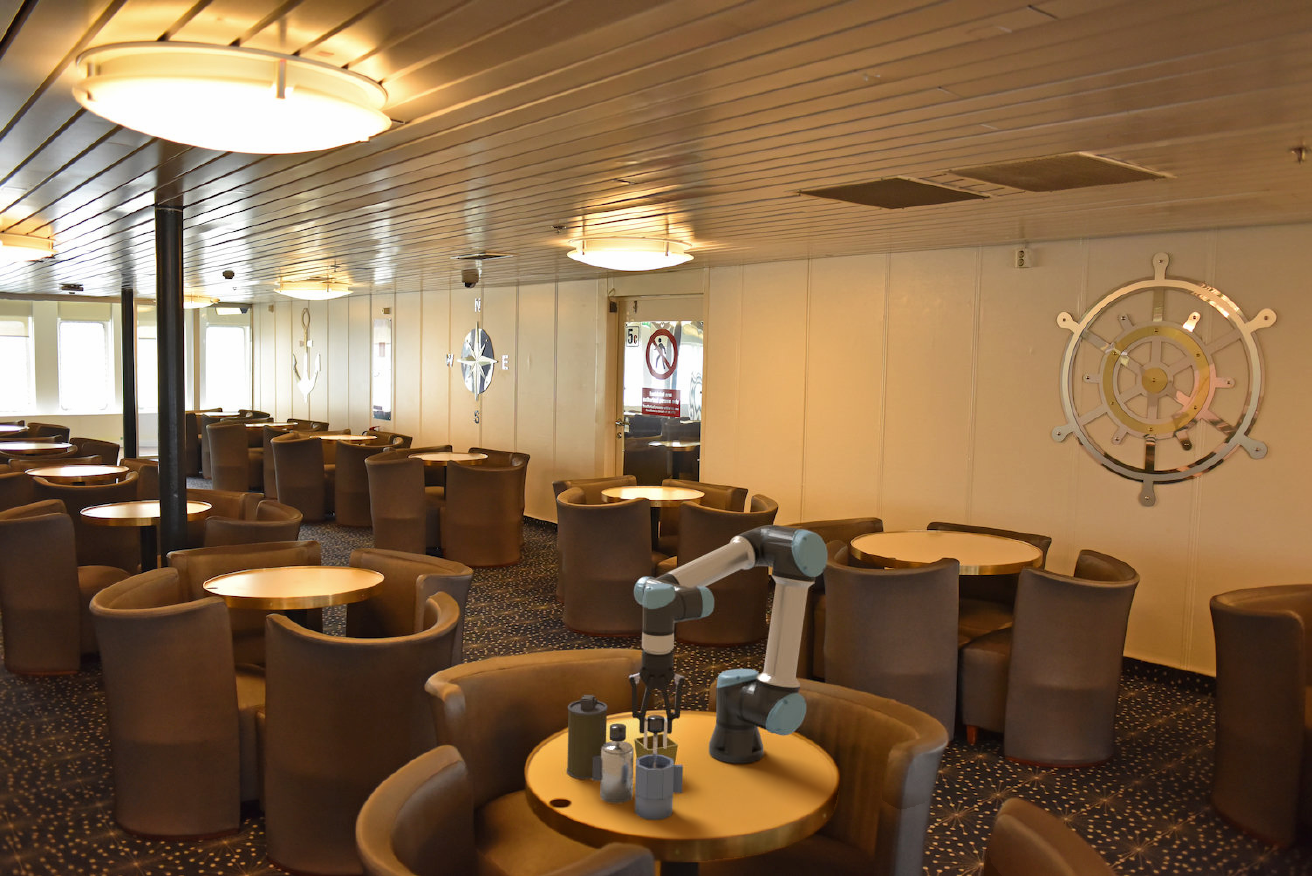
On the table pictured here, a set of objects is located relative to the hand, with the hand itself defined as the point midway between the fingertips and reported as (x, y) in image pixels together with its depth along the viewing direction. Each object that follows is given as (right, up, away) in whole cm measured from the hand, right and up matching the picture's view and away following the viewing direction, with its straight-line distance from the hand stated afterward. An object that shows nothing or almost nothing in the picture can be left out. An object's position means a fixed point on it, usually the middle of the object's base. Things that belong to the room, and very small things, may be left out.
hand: (655, 746), depth 224 cm
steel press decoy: (-10, -15, +9) cm, 20 cm away
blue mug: (+1, -16, +1) cm, 16 cm away
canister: (-18, -14, +23) cm, 33 cm away
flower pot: (0, -15, +22) cm, 27 cm away
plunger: (0, -7, 0) cm, 7 cm away
